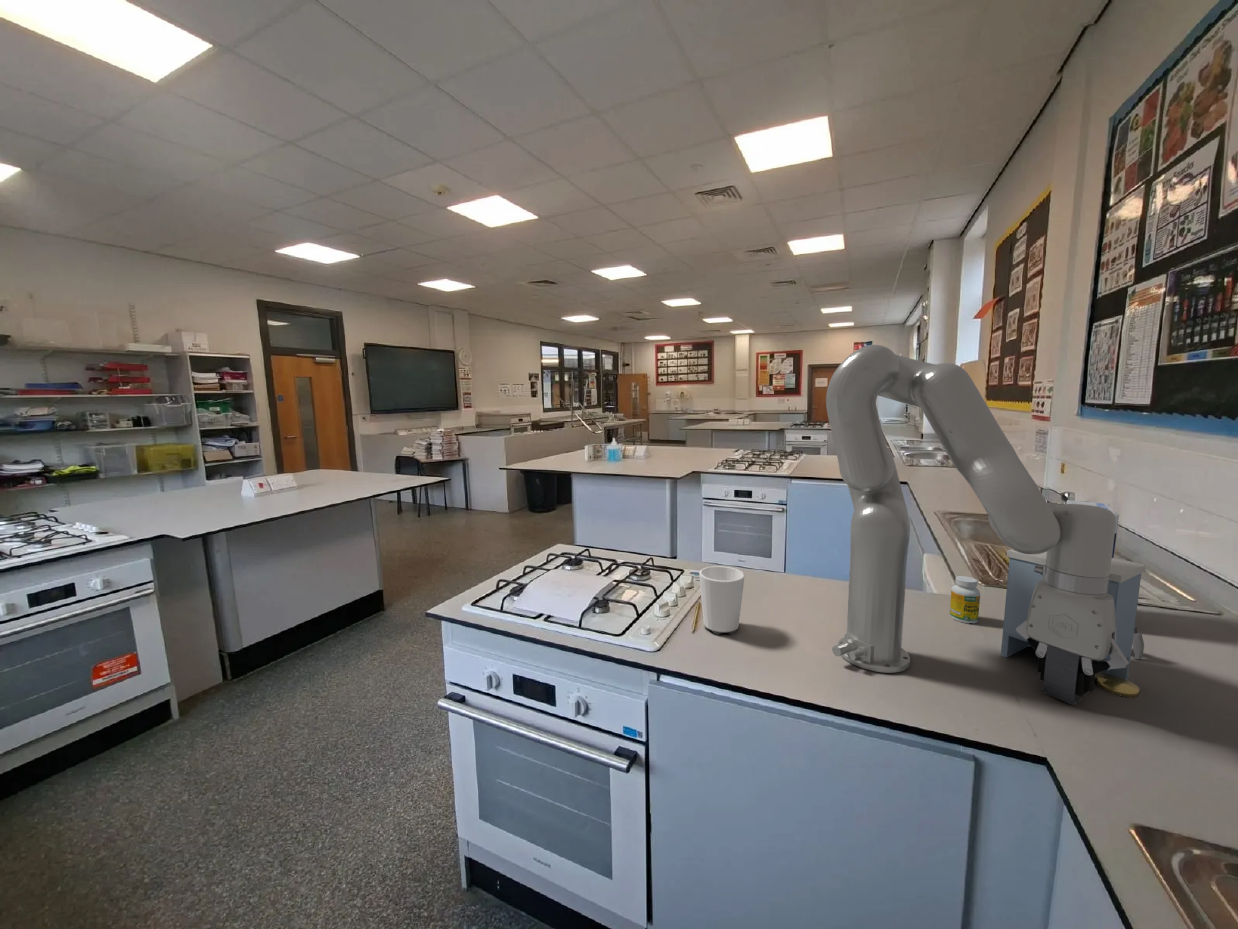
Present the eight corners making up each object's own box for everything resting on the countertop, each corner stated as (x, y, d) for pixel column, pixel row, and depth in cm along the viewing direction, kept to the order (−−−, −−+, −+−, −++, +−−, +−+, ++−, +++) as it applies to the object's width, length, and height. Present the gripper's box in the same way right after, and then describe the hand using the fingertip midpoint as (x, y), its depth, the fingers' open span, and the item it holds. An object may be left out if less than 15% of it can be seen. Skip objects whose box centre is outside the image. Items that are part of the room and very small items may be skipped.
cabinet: (1106, 697, 79) (1120, 576, 77) (997, 655, 93) (1006, 550, 90) (1130, 679, 84) (1145, 564, 82) (1023, 641, 98) (1033, 542, 95)
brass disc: (1132, 701, 78) (1133, 695, 78) (1091, 686, 83) (1092, 679, 83) (1143, 692, 81) (1144, 686, 81) (1103, 678, 85) (1103, 671, 85)
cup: (692, 632, 104) (692, 577, 102) (706, 615, 113) (706, 563, 111) (737, 642, 99) (738, 584, 98) (748, 623, 108) (749, 569, 106)
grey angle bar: (1073, 705, 77) (1079, 652, 76) (1042, 692, 80) (1047, 642, 79) (1111, 677, 84) (1117, 629, 83) (1081, 666, 88) (1086, 620, 87)
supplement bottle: (964, 613, 112) (967, 574, 110) (984, 623, 106) (987, 582, 105) (943, 614, 111) (946, 575, 110) (962, 625, 106) (966, 584, 104)
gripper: (1002, 569, 82) (994, 668, 85) (1141, 604, 68) (1126, 722, 70) (1023, 562, 86) (1014, 657, 88) (1158, 593, 71) (1144, 706, 74)
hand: (1063, 685), depth 79 cm, fingers closed on grey angle bar, 4 cm apart
